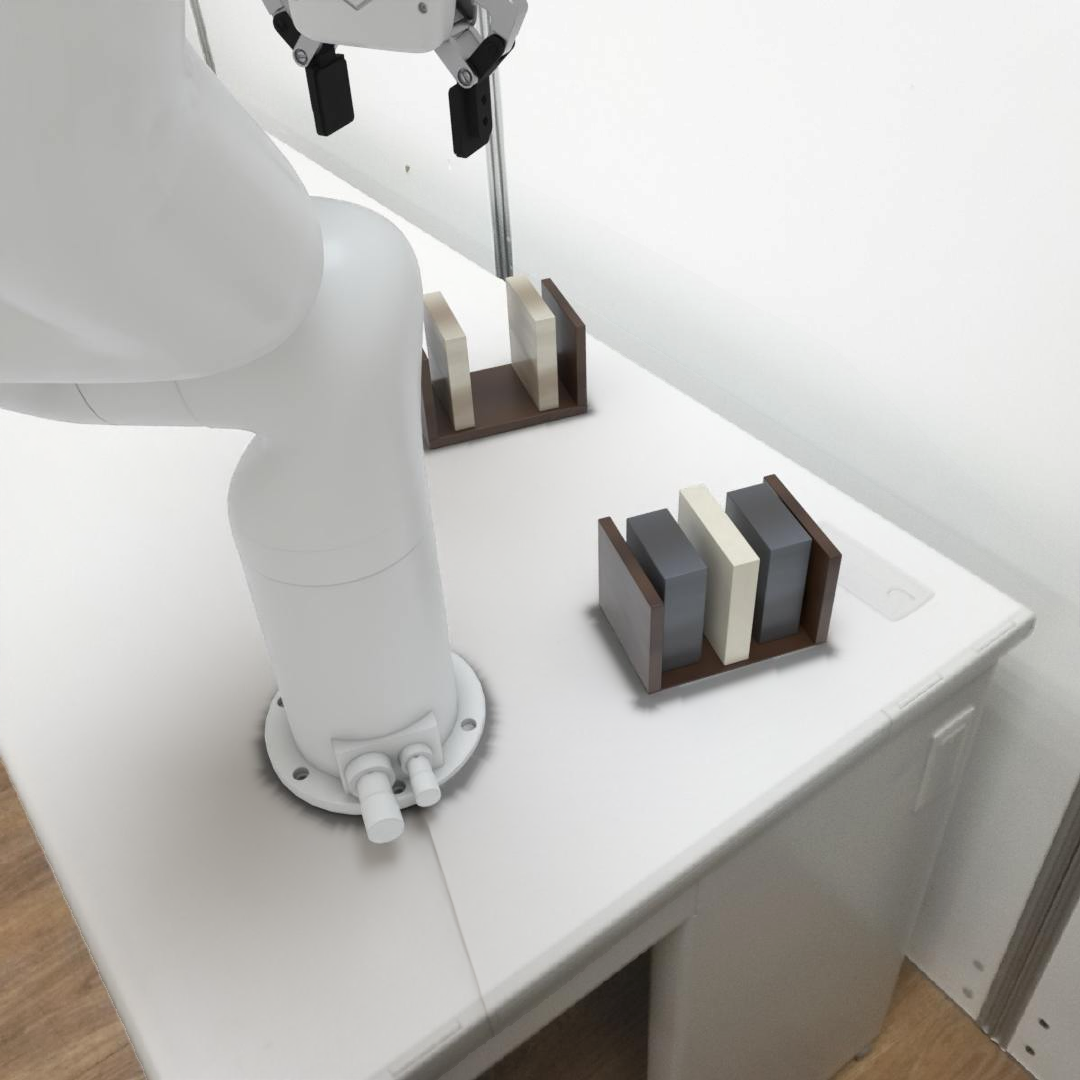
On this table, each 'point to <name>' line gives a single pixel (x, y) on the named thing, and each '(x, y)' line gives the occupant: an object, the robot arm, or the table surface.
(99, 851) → the table surface
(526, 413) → the brown book rack
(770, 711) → the table surface
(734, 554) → the white book
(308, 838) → the table surface
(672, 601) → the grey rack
